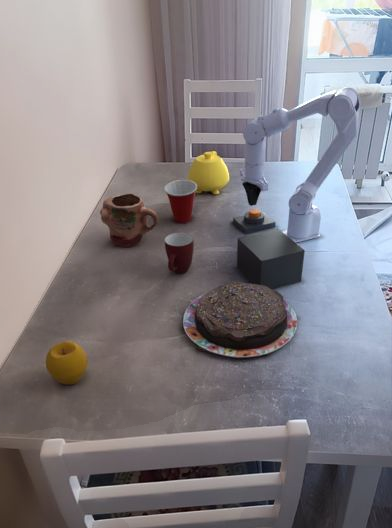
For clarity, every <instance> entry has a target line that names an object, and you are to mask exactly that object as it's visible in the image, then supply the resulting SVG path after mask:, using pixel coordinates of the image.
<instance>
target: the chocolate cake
mask: <svg viewBox="0 0 392 528" xmlns="http://www.w3.org/2000/svg"><path fill="white" fill-rule="evenodd" d="M297 316H298V315H297V314H296V311H295V310H294V308H293V306H292V305H290V303H288V301H286V300H285V299H284V296H283V294H282V293H281V292H279V291H277V290H275V289H270V288H268V287H266V286H264V285H258V284H251V283H247V282H237V281H227V282H226V283H224V284H221V285H220V286H217V287H215V288H213V289H211V290H209V291H208V292H205V293H203V294H201V295H199V296H198V297H196V298H195V299H194V300H192V301H191V303H190V304H188V306H187V307H186V309H185V311H184V312H183V316H182V326H183V327H182V328H183V330H184V332H185V334H186V336H187V337H188V338H189V339H190V340H191V341H192V342H193V343H194V344H195V346H196V347H197V348H198V350H199V351H204V352H208V353H213V354H215V355H221V356H224V357H229V358H234V359H244V358H252V357H260V356H270V355H271V354H272V353H273V352H277V350H279V349H281V348H283V347H284V346H285V345H287V344H288V343H289V341H290V340H292V339H293V338H294V336H295V334H296V332H297V329H298V317H297Z"/></svg>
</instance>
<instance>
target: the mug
mask: <svg viewBox="0 0 392 528" xmlns="http://www.w3.org/2000/svg"><path fill="white" fill-rule="evenodd" d="M164 250H165V254H166V257H167V260H168V261H167V267H168V270H169V271H171V272H174V273H176V274H185V273H187V272H188V271H189V269H190V267H191V266H192V263H193V258H194V250H195V238H194V236H193V235H192V234H190V233H188V232H173V233H170V234H168V235H166V237H165V238H164Z"/></svg>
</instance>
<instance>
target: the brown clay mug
mask: <svg viewBox="0 0 392 528" xmlns="http://www.w3.org/2000/svg"><path fill="white" fill-rule="evenodd" d="M102 202H103V203H102V208H101V209H100V210H99V214H100V220H101V222H102V223H103V224H104V225H105V226H107V227H108V230H109V239H110V241H111V243H112V244H113V245H115V246H116V247H119V248H132V247H134V246H136V245H138V244H140V242H141V241H142V239H143V236H144V235H146V234H147V233H150V232H151V231H152V230H153V229H155V228H156V227H158V223H159V217H158V215H157V213H156V212H155V211H154V210H152V209H151V208H147V207H146V206H145V203H144V202H145V201H144V200H143V199H142V198H141V196H139V195H136V194H134V193H124V194H122V193H121V194H118V195H113V196H109V197H108V198H106V199H104V201H102ZM149 217H150V218H152V220H153V224H152V225H151V226H148V225H147V221H148V219H149Z"/></svg>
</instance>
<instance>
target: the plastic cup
mask: <svg viewBox="0 0 392 528" xmlns="http://www.w3.org/2000/svg"><path fill="white" fill-rule="evenodd" d="M163 189H164V192H165V193H166V195H167V197H168V201H169V204H170V209H171V211H172V212H171V213H172V216H173V220H174V222H175V223H179V224H187V223H190V222H191V220H192V216H193V210H194V202H195V195H196V193H195V192H196V189H197V185H196V183H194V182H193V181H189V180H188V179H177V180H173V181H170V182H169V183H167V184H165V186H164V188H163Z"/></svg>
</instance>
